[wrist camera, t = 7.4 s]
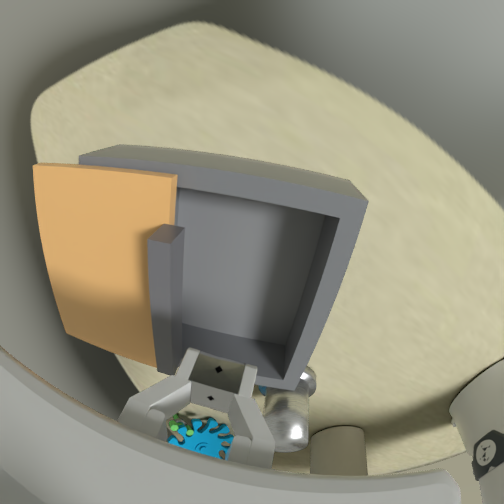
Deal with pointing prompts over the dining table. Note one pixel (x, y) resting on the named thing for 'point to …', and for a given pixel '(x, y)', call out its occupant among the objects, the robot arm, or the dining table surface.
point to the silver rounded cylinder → (289, 413)
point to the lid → (114, 258)
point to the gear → (200, 436)
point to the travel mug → (339, 452)
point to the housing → (254, 253)
